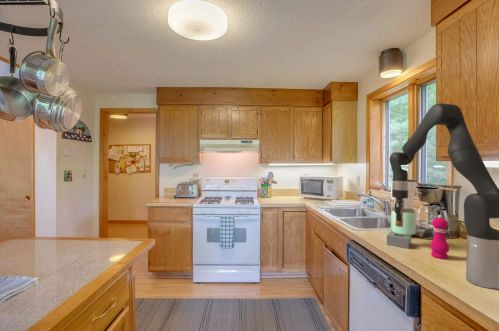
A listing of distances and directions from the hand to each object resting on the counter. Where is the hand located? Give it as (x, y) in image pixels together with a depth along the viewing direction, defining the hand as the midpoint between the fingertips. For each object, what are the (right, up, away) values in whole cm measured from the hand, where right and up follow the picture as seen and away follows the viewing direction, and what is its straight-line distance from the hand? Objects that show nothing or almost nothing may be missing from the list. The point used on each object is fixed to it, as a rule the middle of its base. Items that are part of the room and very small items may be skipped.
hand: (399, 220), depth 136 cm
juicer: (+13, -13, +18) cm, 26 cm away
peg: (0, -3, 0) cm, 3 cm away
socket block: (0, -13, 0) cm, 13 cm away
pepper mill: (+8, -14, -18) cm, 24 cm away
